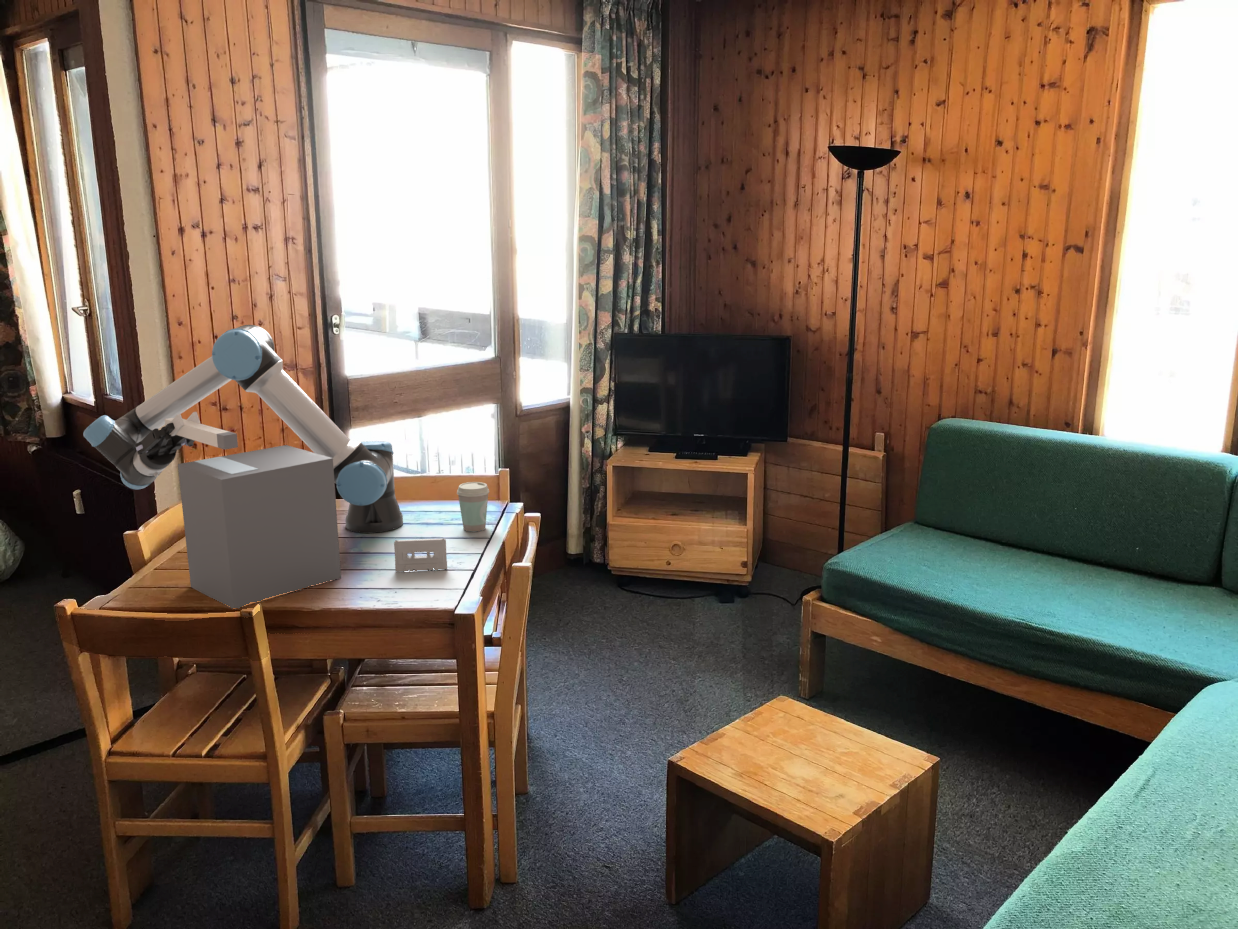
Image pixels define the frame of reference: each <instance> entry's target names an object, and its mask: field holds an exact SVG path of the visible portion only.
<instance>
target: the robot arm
mask: <svg viewBox="0 0 1238 929" xmlns="http://www.w3.org/2000/svg"><path fill="white" fill-rule="evenodd" d="M275 350H276V348H275V343H274V340H273V337H272V336H271V334H270V333H269V332H268V331H267V330H266V329H264V328H263V327H260V326H258V325H254V324H245V325H240V326H237V327H235V328H231V329H228V330H226V331H225V332H224V333H222V334H221V335H220V336H219V337H217V339H216V340H215V342H214V344H213V347H212V350H211V356H210V357H208V358H207V359H205V360H204V361H202V362H201V363H199V364H197V366H195V367H193V368H192V369H191V370H189V371H188V372H187V373H185V374H183V375H182V376H180V377H178V378H177V379H175V380H174V381H173V382H172V383H170V384H169V385H167V386H165V387H164V388H163V389H161V390H160V391H159V392H157V393H155V394H154V395H152V396H151V397H149V398H148V399H146V400H145V401H144V402H142V403H141V404H139V405H137V406H136V407H135V408H133V409H132V410H130V411H128V412H127V413H125V414H124V415H122V416H121V417H119V418H118V419H116V420H114V419H112V418H111V417H110V416H108V415H106V414H104V415H101V416H99V417H98V418H97V419H95V420H94V421H93V422H91V423H90V424H89V425H88V426H87V427H86V428H85V429H84V430H83V438H85V439H86V441H87V442H89V444H90V445H91V447H93V448H94V449H96V450H97V451H98V452H99V453H100V454H101V455H102V456H103V457H104V458H105V459H107V460H108V461H109V462H110V463H111V464H113V466H115V468H116V469H117V470H118V471H119V473H120V474H119V476H120V480H121V482H122V483H123V485H125V486H126V487H128V488H129V489H131V490H141V489H145V488H146V487H148V486H150V485H151V484H152V483H153V482H155V481H156V479H157V478H158V477H159V476H160V475H161V473H163V471H164V470H165V469H166V468H167V467H168V466H169V465H170V464H171V463H172V462H173V461H174V460H175V458H176V454H177V451H178V450H180V449H181V448H182V446H186V447H189V448H190V447H193V446H194V444H195V443H194V442H196V441H195V440H191V439H188V438H185V437H182V436H178V435H176V433H177V432H178V431H179V430H180V429H181V428H182V427H183V426H184V422H183V419H184V418H182V417H183V416H182V415H181V414H183V413H185V412H186V411H187V410H189V409H190V408H192V407H193V406H195V405H197V404H198V403H200V401H202V400H204V399H205V398H206V397H208V396H210V395H211V394H213V393H214V392H215V391H217V390H219V389H220V388H222V387H223V386H225V385H226V384H228V383H229V382H231V381H232V380H233V381H235V382H236V383H237V385H239V387H241V388H242V389H243V390H244V391H245V392H247V393H255V394H257V395H258V396H259V398H261V400H262V401H263V402H265V404H266V405H267V406H268V407H269V408H270V409H271V410H272V411H273V412H274V414H276V415H277V416H278V417H279V418H280V419H281V421H283V422H284V424H286V426H288V428H290V429H291V430H292V431H293V433H294V434H295V435H297V436H298V437H299V439H300V440H301V441H303V443H304V444H305V445H306V446H307V447H308V448H309V449H310V450H311V452H313V453H316V454H320V455H323V456H327V457H330V458H333V468H334V483H335V484H336V489H337V492H338V494H339V495H340V496H341V498H342V499H343V500H344V501H345V502H346V503H348V505H349V506H348V510H347V515H346V516H345V519H344V520H345V528H346V529H347V530H348V531H351V532H354V533H360V534H361V533H364V534H366V533H367V534H372V533H373V534H374V533H382V532H383V533H384V532H388V531H392V530H395V529H398V528H400V527H402V525H403V524H404V514H403V512H402V511H401V509H400V506H399V502H398V500H397V498H396V491H395V488H396V487H395V473H394V470H395V468H394V457H393V456H394V450H393V445H392V443H391V442H389V441H379V440H375V441H373V440H371V441H370V440H369V441H358V440H357V441H354V440H351V439H350V438H349V437H348V436H347V435H346V434H345V432H343V431H342V430H341V429H340V428H339V426H338V425H336V423H335V422H334V421H333V420H332V419H331V418H330V417H329V416H328V415H327V414H326V413H325V412H324V411H323V410H322V409H321V408H320V407H319V406H318V405H317V404H316V403H315V401H314V400H313V399H311V397H310V396H309V395H308V394H307V393H306V392H305V391H304V390H303V389H302V388H301V387H300V386H299V385H298V383H297V382H295V381H294V380H293V378H292V377H290V375H289V374H288V373H286V371H285V370H284V367H283V365H284V362H283V359H282V358H281V357H280V356H279V355H278V354H277V353H276V351H275ZM168 418H174V419H173V420H172V421H171V422H170V423H168V424H167V425H166V426H165V419H168ZM186 420H189V421H193V422H196V423H200V424H201V421H200V416H199V414H198V411H193V412H192V413H191V414H190V415H189V416H188V418H187V419H186Z"/></svg>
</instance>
